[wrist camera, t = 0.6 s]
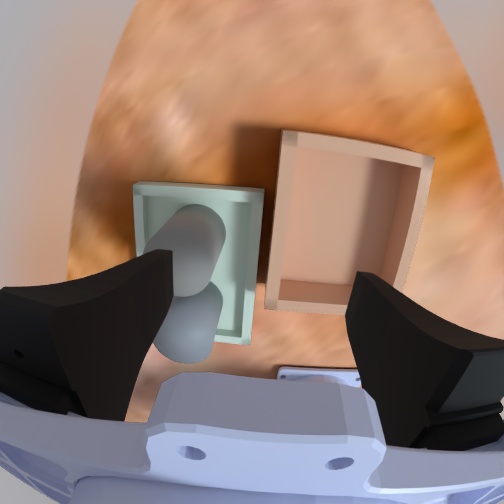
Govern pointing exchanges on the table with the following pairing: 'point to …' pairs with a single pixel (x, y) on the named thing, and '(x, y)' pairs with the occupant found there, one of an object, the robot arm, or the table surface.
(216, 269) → the parts tray
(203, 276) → the pebble
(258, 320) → the table surface
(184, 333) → the pebble
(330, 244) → the dish
